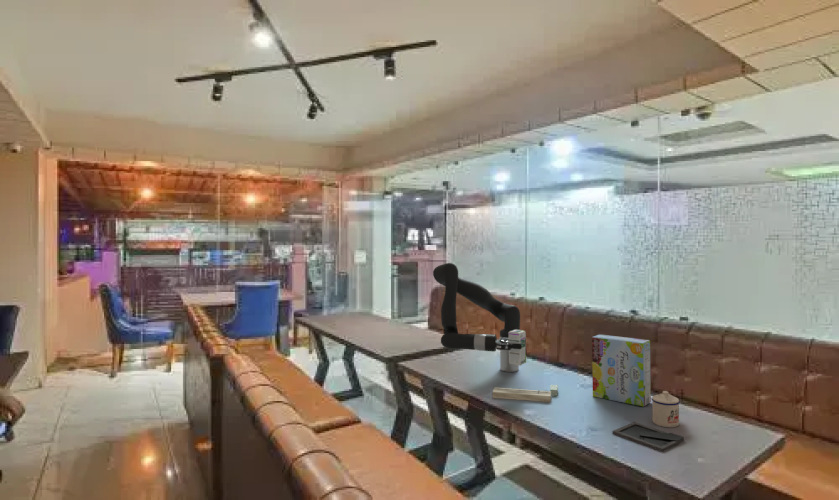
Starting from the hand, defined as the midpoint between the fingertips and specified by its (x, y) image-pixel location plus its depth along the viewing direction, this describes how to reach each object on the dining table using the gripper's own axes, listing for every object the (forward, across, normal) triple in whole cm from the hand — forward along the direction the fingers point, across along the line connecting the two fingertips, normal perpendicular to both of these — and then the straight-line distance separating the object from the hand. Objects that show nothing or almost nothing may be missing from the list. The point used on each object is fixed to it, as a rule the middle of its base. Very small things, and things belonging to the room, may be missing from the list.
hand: (522, 344), depth 222 cm
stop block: (+13, 0, +21) cm, 25 cm away
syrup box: (-2, 0, +9) cm, 9 cm away
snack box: (+40, -2, +21) cm, 45 cm away
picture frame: (+46, -40, +21) cm, 64 cm away
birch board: (+1, -9, +21) cm, 23 cm away
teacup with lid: (+55, -23, +21) cm, 63 cm away
